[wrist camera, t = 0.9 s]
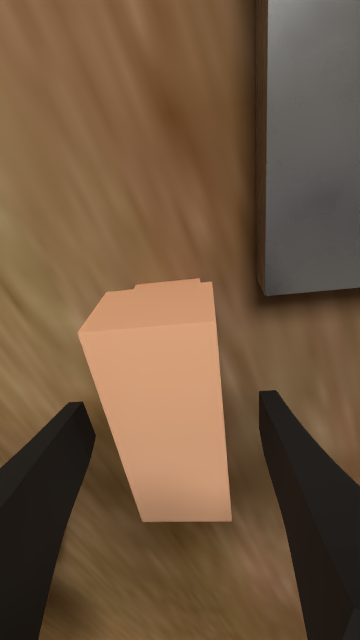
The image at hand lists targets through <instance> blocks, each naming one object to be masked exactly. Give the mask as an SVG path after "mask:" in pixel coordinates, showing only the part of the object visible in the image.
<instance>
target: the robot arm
mask: <svg viewBox="0 0 360 640" xmlns="http://www.w3.org/2000/svg"><path fill="white" fill-rule="evenodd" d="M259 430H260V435H261V441H262V446H263V451H264V456H265V459H266V463H267V466H268V469H269V473H270V476H271V480H272V483H273V486H274V490H275V493H276V496H277V500H278V503H279V507H280V510H281V513H282V517H283V521H284V525H285V528H286V533H287V538H288V543H289V547H290V552H291V557H292V562H293V567H294V572H295V577H296V582H297V587H298V592H299V597H300V602H301V607H302V612H303V617H304V622H305V628H306V633H307V638H308V640H360V486H359V485H358V484H357V483H356V482H355V481H354V480H353V479H352V478H351V477H350V476H348V475H347V474H346V473H345V472H344V471H343V470H342V469H341V468H340V467H339V466H338V465H337V464H336V463H335V462H334V461H333V460H332V459H331V458H330V457H329V455H328V454H327V453H326V452H325V451H324V450H323V449H322V448H321V447H320V446H319V445H318V443H317V442H316V441H315V440H314V439H313V438H312V437H311V435H310V434H309V433H308V432H307V431H306V429H305V428H304V427H303V426H302V425H301V423H300V422H299V421H298V420H297V418H296V417H295V416H294V414H293V413H292V412H291V410H290V409H289V408H288V406H287V405H286V404H285V402H284V401H283V399H282V398H281V396H280V395H279V393H278V392H277V391H276V390H271V391H259ZM95 437H96V435H95V432H94V430H93V427H92V424H91V422H90V419H89V416H88V414H87V411H86V409H85V406H84V403H83V402H69V403H68V404H67V405H66V406H65V407H64V408H63V409H62V410H61V411H60V412H59V413H58V414H57V415H56V416H55V417H54V418H53V419H52V420H51V421H50V422H49V423H48V424H47V425H46V426H45V427H44V428H43V429H42V430H41V431H40V432H39V433H38V434H37V435H35V436H34V437H33V438H32V439H31V440H30V441H29V442H28V443H27V444H26V445H25V446H24V447H23V448H22V449H21V450H20V451H19V452H18V453H17V454H15V455H14V456H13V457H12V458H11V459H10V460H9V461H8V462H7V463H6V464H5V465H3V466H2V467H1V468H0V640H38V638H39V633H40V628H41V624H42V619H43V615H44V610H45V606H46V601H47V597H48V592H49V588H50V584H51V580H52V576H53V572H54V568H55V564H56V560H57V557H58V553H59V549H60V546H61V542H62V538H63V535H64V531H65V528H66V525H67V522H68V519H69V516H70V513H71V511H72V508H73V505H74V503H75V500H76V497H77V495H78V492H79V489H80V487H81V484H82V481H83V479H84V476H85V473H86V470H87V468H88V465H89V462H90V458H91V454H92V451H93V446H94V442H95Z"/></svg>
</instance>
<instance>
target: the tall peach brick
mask: <svg viewBox="0 0 360 640" xmlns="http://www.w3.org/2000/svg"><path fill="white" fill-rule="evenodd" d="M78 336H79V339H80V342H81V345H82V347H83V350H84V353H85V356H86V359H87V362H88V365H89V368H90V371H91V374H92V377H93V380H94V382H95V385H96V388H97V391H98V394H99V397H100V400H101V403H102V406H103V409H104V412H105V414H106V417H107V420H108V423H109V426H110V429H111V432H112V435H113V438H114V441H115V444H116V446H117V449H118V452H119V455H120V458H121V461H122V464H123V467H124V470H125V473H126V476H127V479H128V481H129V484H130V487H131V490H132V493H133V496H134V499H135V502H136V505H137V508H138V511H139V513H140V516H141V519H142V522H203V521H232V516H231V504H230V491H229V479H228V466H227V454H226V441H225V428H224V416H223V403H222V391H221V378H220V366H219V353H218V341H217V328H216V317H215V307H214V297H213V288H212V282H203V283H200V278H198V279H188V280H178V281H168V282H158V283H148V284H138V285H135V287H134V289H132V290H122V291H112V292H106V293H105V295H104V296H103V298H102V299H101V300H100V302H99V303H98V305H97V306H96V307H95V309H94V310H93V312H92V313H91V314H90V316H89V317H88V319H87V320H86V321H85V323H84V324H83V326H82V327H81V328H80V330H79V331H78Z"/></svg>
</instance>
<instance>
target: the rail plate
mask: <svg viewBox="0 0 360 640" xmlns="http://www.w3.org/2000/svg"><path fill="white" fill-rule="evenodd" d="M255 128H256V279H257V281H258V283H259V285H260V287H261V289H262V291H263V293H264V295H265V296H272V295H283V294H294V293H305V292H316V291H327V290H338V289H349V288H360V0H255Z"/></svg>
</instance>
